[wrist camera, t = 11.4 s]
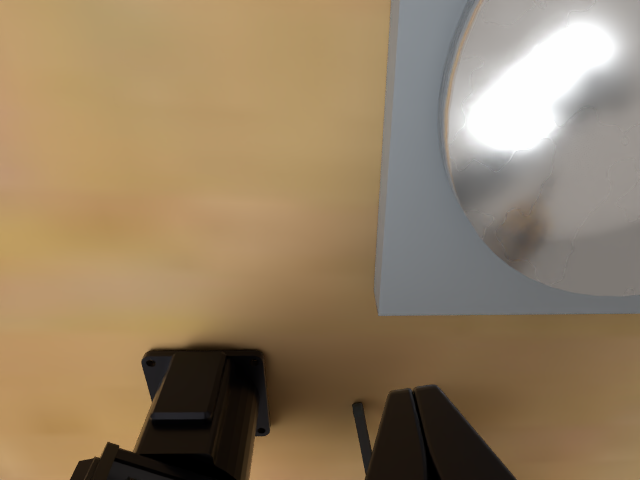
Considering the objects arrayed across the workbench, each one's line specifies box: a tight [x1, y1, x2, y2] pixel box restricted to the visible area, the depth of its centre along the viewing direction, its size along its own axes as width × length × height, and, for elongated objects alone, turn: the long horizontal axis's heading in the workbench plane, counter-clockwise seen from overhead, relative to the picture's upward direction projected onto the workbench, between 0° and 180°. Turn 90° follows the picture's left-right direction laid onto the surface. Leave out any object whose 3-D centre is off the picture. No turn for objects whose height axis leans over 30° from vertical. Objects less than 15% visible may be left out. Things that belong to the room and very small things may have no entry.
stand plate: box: [374, 0, 640, 316], centre depth 17 cm, size 20×18×2 cm
